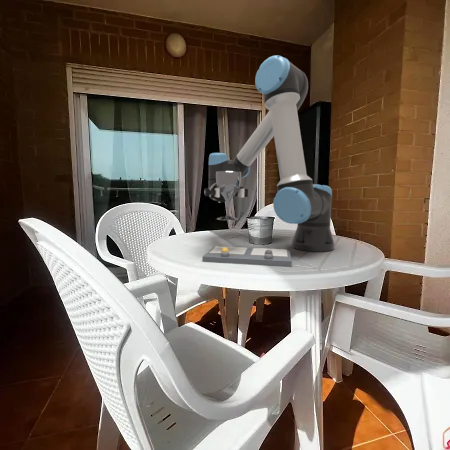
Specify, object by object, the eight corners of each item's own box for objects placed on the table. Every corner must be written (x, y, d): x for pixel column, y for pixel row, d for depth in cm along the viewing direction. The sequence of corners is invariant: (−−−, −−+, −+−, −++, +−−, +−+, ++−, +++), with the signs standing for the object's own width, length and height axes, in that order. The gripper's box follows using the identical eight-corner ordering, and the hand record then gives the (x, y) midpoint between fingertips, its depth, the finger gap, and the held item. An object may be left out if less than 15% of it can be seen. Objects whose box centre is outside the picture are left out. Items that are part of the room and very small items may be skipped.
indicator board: (289, 254, 90) (289, 242, 90) (291, 266, 76) (291, 252, 75) (214, 250, 95) (214, 239, 95) (202, 261, 81) (202, 248, 80)
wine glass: (214, 220, 84) (215, 171, 82) (216, 217, 91) (217, 172, 89) (240, 220, 83) (241, 171, 81) (239, 218, 91) (241, 172, 89)
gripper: (245, 201, 106) (262, 205, 83) (194, 201, 103) (197, 205, 80) (245, 182, 105) (263, 181, 82) (194, 181, 102) (197, 179, 79)
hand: (230, 193), depth 81 cm, fingers closed on wine glass, 7 cm apart
